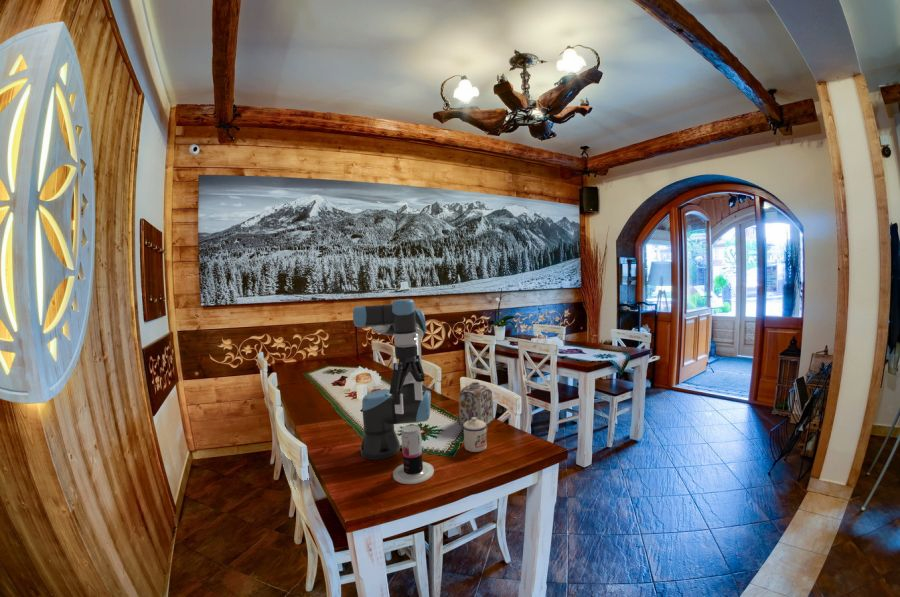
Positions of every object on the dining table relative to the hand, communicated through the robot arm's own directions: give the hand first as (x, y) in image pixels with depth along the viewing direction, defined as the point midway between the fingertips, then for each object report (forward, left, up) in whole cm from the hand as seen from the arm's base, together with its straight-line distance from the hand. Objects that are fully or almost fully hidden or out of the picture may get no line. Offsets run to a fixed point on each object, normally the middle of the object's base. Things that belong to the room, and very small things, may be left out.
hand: (409, 406), depth 128 cm
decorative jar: (+9, +47, -23) cm, 54 cm away
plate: (0, -1, -23) cm, 23 cm away
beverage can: (0, 0, -23) cm, 23 cm away
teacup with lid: (+16, +24, -23) cm, 38 cm away
